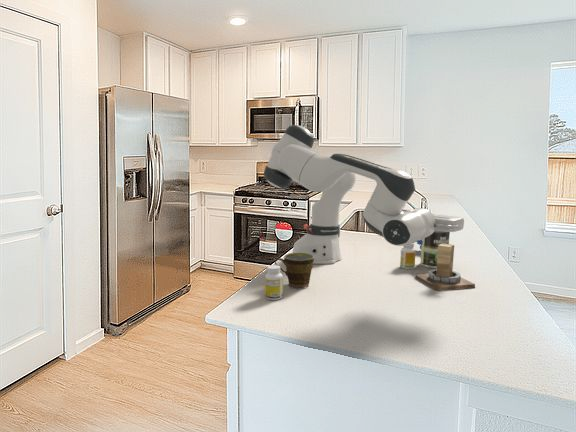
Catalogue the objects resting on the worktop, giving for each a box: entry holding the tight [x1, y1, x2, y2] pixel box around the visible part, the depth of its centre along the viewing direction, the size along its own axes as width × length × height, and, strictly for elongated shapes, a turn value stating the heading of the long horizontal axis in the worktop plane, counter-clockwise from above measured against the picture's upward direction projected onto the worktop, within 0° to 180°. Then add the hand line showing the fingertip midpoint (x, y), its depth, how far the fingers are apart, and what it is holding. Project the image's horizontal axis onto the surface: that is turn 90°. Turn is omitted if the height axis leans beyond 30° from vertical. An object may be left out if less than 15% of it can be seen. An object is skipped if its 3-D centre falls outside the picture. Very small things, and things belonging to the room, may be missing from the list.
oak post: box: [436, 243, 455, 277], centre depth 150 cm, size 4×4×12 cm
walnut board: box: [414, 273, 476, 292], centre depth 151 cm, size 14×14×1 cm
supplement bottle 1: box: [264, 264, 284, 301], centre depth 135 cm, size 5×5×10 cm
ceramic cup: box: [274, 252, 314, 289], centre depth 146 cm, size 13×10×10 cm
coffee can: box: [419, 230, 451, 269], centre depth 172 cm, size 10×10×14 cm
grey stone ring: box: [428, 268, 462, 284], centre depth 151 cm, size 10×10×2 cm
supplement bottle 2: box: [399, 243, 416, 270], centre depth 169 cm, size 5×5×10 cm
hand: (436, 217), depth 139 cm, fingers open, 8 cm apart
